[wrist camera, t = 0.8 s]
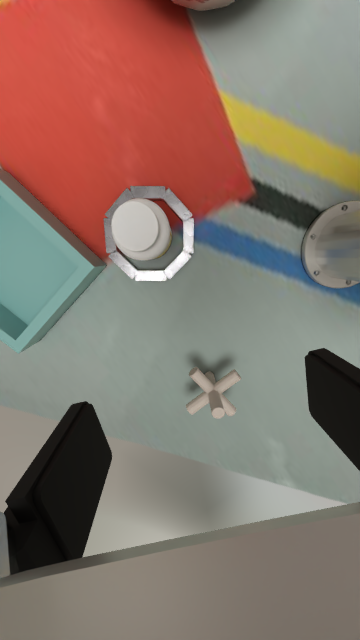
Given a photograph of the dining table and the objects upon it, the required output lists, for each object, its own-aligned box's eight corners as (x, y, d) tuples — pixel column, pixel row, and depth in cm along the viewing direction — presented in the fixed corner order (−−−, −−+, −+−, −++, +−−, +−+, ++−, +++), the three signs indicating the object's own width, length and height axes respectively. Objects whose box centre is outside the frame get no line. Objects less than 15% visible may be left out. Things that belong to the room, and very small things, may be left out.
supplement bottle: (124, 217, 33) (92, 195, 21) (167, 209, 33) (161, 181, 21) (134, 263, 35) (111, 266, 23) (175, 255, 35) (174, 254, 22)
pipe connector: (170, 373, 41) (168, 410, 31) (213, 340, 39) (224, 368, 29) (205, 408, 43) (212, 452, 33) (246, 378, 41) (267, 415, 31)
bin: (9, 172, 31) (-25, 156, 26) (106, 265, 35) (94, 266, 30) (-55, 264, 35) (-97, 266, 30) (40, 340, 39) (18, 353, 33)
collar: (148, 167, 31) (146, 163, 30) (210, 237, 34) (211, 236, 33) (90, 236, 34) (86, 235, 32) (152, 296, 37) (151, 297, 35)
